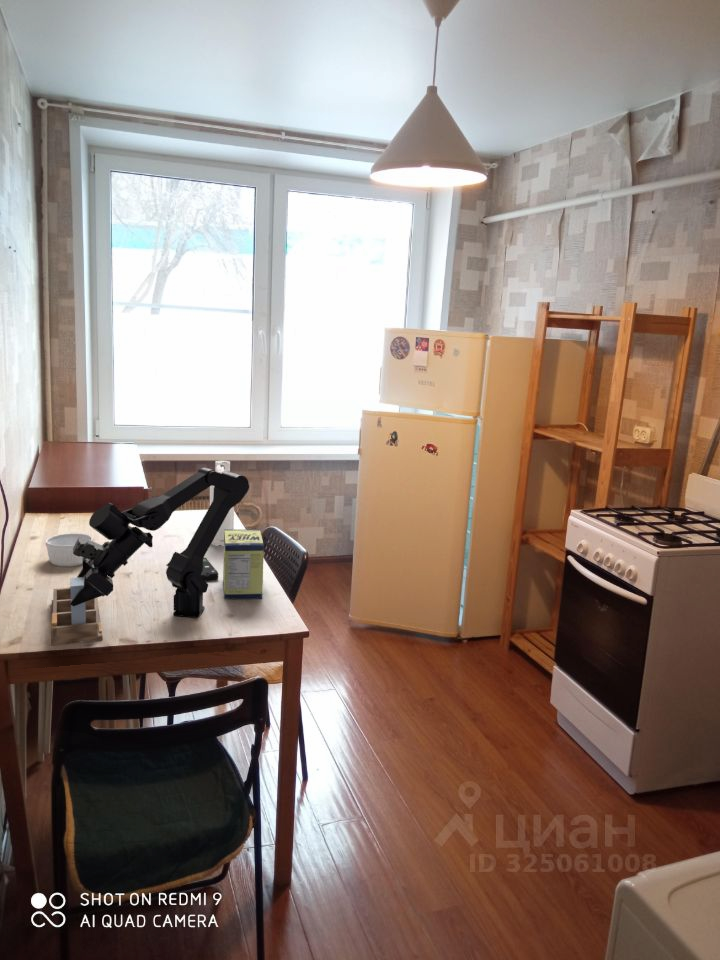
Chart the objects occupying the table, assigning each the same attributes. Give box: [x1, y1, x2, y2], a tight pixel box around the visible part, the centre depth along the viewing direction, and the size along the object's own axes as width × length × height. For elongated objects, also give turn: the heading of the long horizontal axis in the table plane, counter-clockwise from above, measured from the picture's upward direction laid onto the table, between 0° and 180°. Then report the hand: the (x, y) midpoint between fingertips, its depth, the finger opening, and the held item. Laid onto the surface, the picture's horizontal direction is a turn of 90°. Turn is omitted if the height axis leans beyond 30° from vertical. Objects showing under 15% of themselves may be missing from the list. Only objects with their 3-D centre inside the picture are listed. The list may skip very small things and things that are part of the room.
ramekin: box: [45, 532, 94, 567], centre depth 214 cm, size 13×13×7 cm
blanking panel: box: [69, 577, 86, 625], centre depth 165 cm, size 3×6×12 cm, turn 23°
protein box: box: [222, 529, 265, 600], centre depth 199 cm, size 10×16×16 cm
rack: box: [50, 587, 103, 646], centre depth 173 cm, size 11×25×5 cm, turn 23°
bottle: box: [209, 460, 235, 546], centre depth 238 cm, size 8×8×28 cm
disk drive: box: [200, 557, 219, 582], centre depth 210 cm, size 10×3×15 cm
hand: (71, 597), depth 164 cm, fingers open, 9 cm apart
